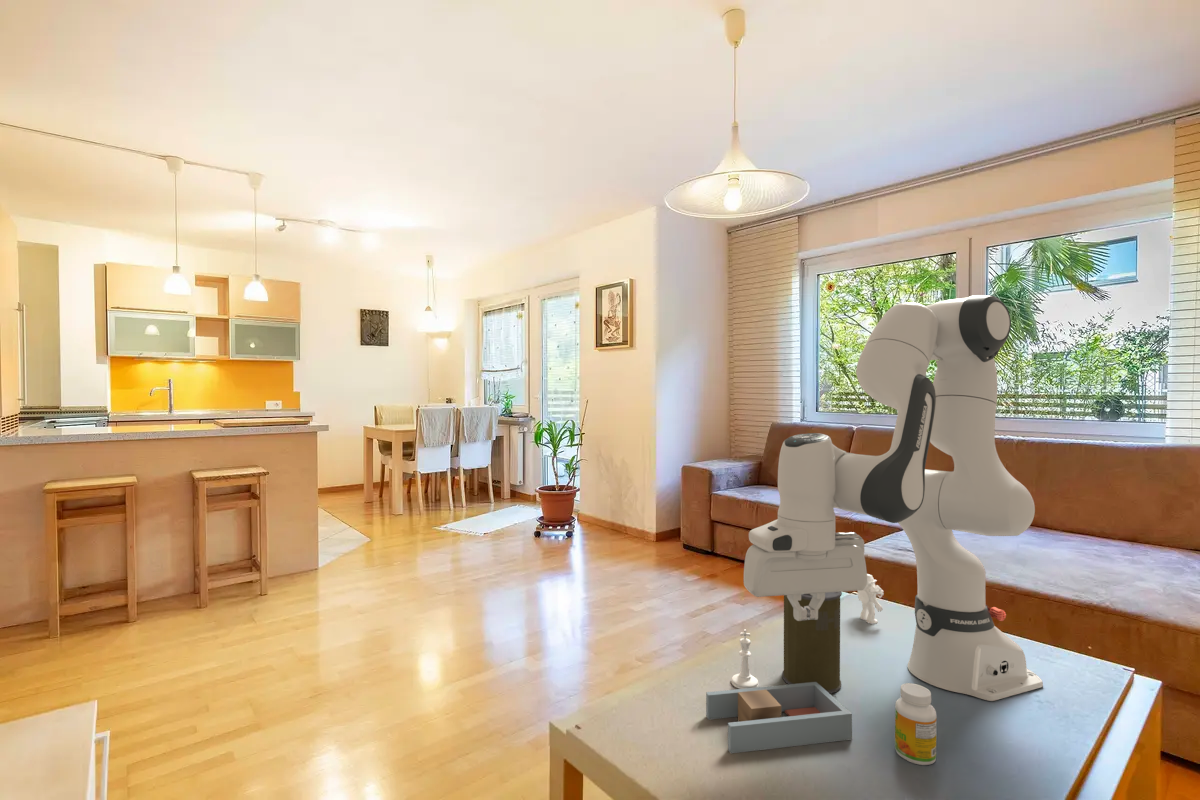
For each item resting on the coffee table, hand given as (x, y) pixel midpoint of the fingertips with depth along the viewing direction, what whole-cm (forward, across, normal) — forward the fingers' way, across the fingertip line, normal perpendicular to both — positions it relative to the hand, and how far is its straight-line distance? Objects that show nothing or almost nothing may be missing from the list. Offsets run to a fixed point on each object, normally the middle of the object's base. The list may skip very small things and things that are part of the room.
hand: (805, 619), depth 92 cm
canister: (+17, -9, -13) cm, 23 cm away
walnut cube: (+17, +8, 0) cm, 19 cm away
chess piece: (+17, +4, -14) cm, 23 cm away
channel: (+17, +5, 0) cm, 18 cm away
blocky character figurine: (+17, -38, -37) cm, 56 cm away
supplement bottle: (+17, -12, +10) cm, 23 cm away
